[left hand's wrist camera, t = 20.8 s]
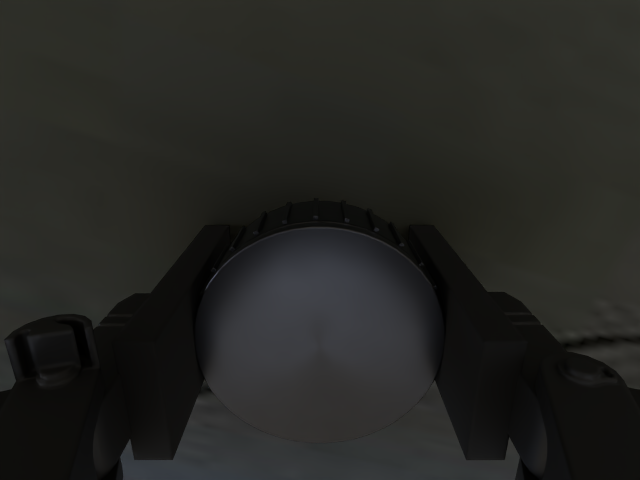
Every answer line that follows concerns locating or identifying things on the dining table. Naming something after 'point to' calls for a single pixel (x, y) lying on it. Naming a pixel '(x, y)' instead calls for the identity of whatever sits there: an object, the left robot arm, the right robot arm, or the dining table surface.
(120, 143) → the dining table surface
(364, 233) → the lid
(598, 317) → the dining table surface
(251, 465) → the dining table surface
